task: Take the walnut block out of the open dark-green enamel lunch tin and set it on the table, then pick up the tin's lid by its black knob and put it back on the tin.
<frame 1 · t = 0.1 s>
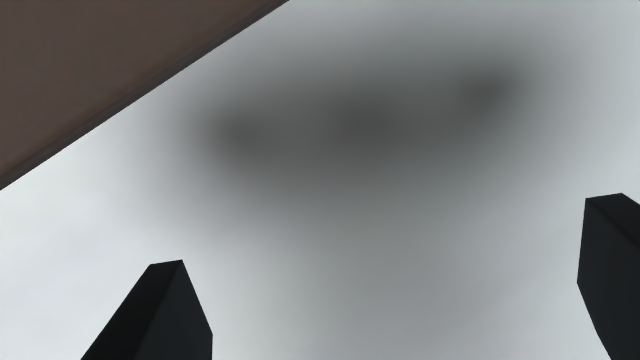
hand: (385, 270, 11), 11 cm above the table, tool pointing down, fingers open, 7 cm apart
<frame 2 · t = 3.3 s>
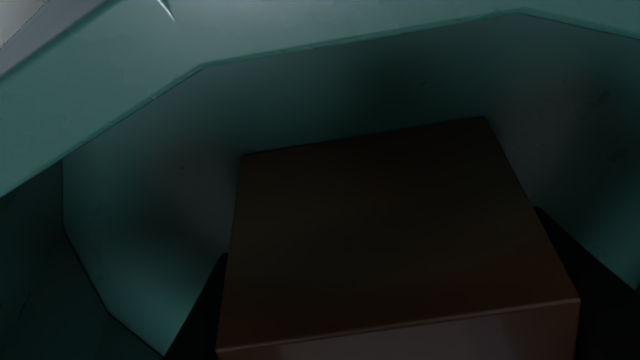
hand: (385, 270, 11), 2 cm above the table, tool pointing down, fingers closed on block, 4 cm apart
tin: (374, 212, 12), on the table
block: (375, 228, 12), point 1 cm above the table, touching gripper, tin
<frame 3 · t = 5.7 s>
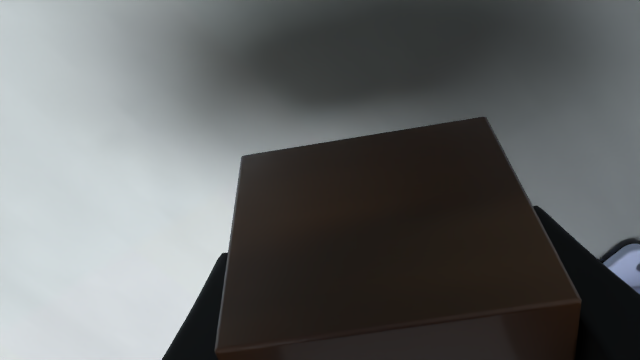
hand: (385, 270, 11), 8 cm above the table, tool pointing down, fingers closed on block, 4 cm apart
block: (376, 229, 12), point 7 cm above the table, touching gripper
when the fingers open (1 cm above the table, at t = 8.0 s): block stays where it is, on the table.
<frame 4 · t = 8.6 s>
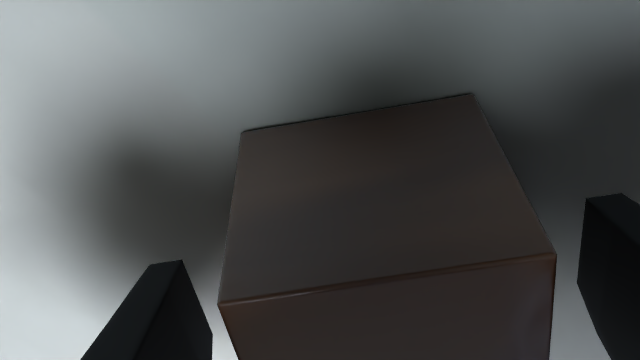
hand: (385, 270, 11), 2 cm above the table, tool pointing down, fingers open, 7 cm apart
block: (369, 204, 13), on the table
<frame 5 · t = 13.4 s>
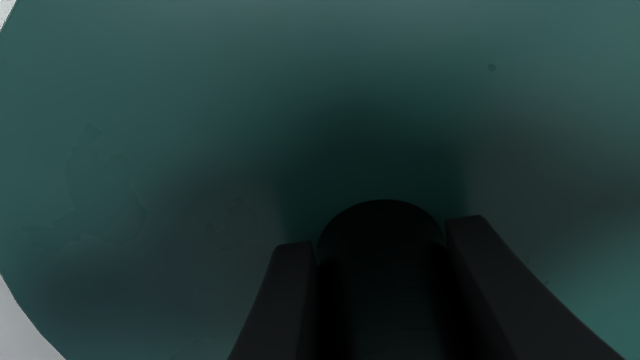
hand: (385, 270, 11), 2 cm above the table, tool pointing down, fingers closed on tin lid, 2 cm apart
tin lid: (377, 231, 12), point 1 cm above the table, touching gripper
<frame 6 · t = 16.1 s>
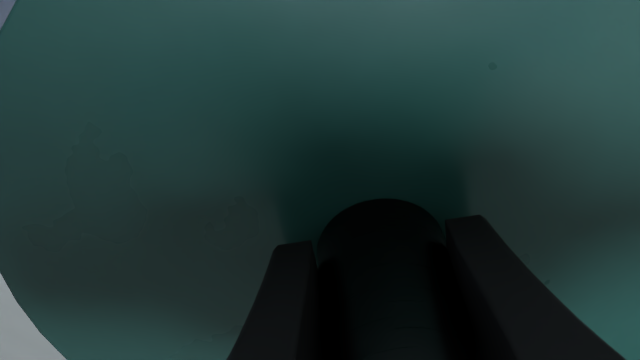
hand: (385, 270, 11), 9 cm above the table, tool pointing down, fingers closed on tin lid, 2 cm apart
tin lid: (377, 231, 12), point 8 cm above the table, touching gripper
when the fingers open (7 cm above the table, at t = 19.0 s): tin lid stays where it is, resting on tin.
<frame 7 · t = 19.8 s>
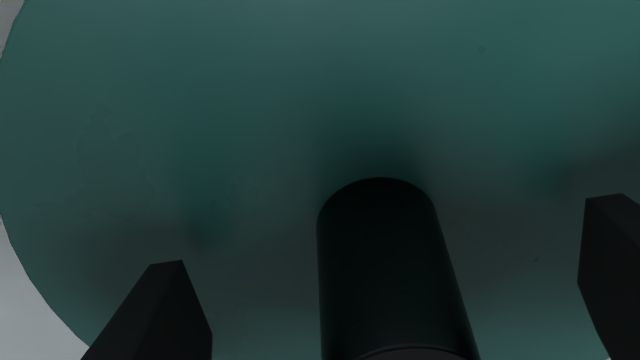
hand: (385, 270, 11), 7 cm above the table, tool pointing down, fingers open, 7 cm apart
tin lid: (373, 210, 12), point 5 cm above the table, touching tin
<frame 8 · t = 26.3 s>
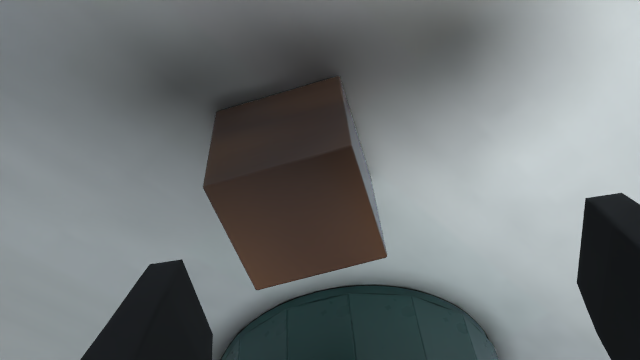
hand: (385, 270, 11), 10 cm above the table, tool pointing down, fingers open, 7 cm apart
block: (296, 145, 22), on the table
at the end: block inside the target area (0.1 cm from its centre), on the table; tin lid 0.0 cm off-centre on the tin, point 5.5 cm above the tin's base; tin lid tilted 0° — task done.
